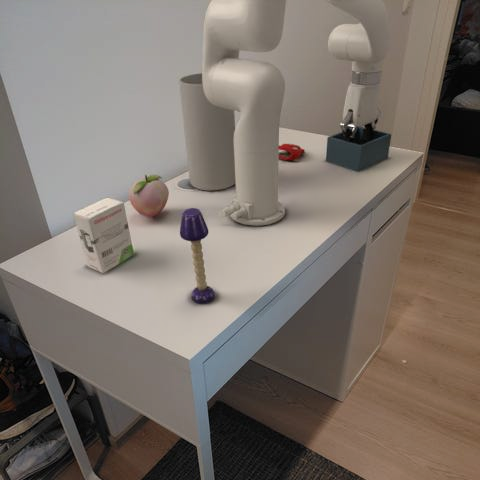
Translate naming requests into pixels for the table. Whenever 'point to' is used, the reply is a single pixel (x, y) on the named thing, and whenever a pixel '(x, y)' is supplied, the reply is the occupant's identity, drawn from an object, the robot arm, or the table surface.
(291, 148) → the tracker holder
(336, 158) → the teal open box
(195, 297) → the toy lamp
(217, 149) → the cylinder vase
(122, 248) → the ink box
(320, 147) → the table surface
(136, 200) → the decorative fruit
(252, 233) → the table surface
